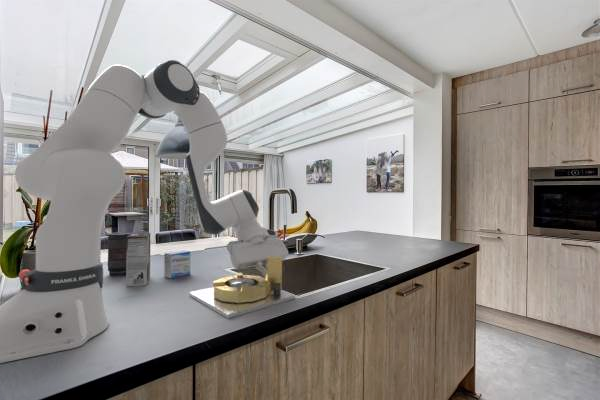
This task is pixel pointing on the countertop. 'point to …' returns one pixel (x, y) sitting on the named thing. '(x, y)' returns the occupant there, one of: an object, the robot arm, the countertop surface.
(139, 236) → the coffee box
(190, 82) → the robot arm
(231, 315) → the base plate
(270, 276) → the lens holder
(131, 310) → the countertop surface
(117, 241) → the camera lens
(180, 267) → the medicine box
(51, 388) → the countertop surface
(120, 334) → the countertop surface
